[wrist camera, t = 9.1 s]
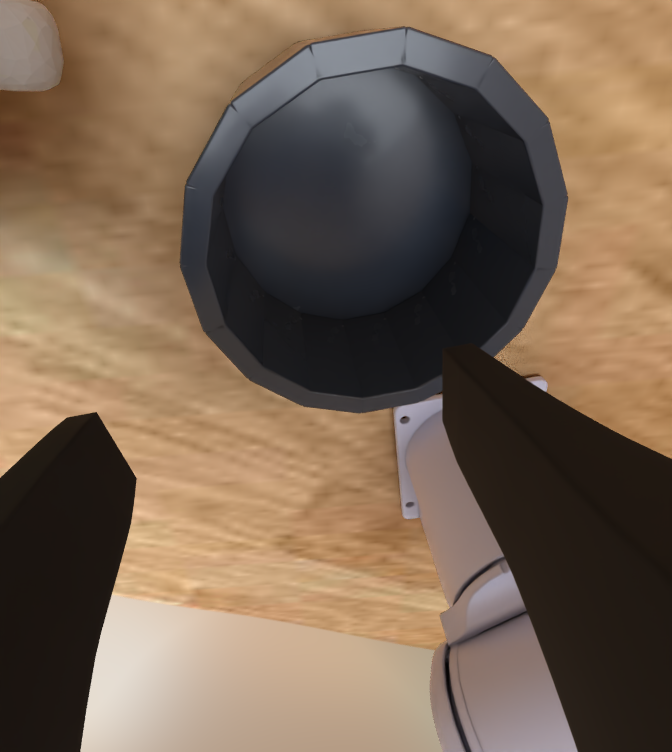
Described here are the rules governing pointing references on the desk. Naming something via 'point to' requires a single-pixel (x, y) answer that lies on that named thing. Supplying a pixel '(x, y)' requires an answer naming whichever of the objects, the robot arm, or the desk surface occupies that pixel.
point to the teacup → (28, 47)
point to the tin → (371, 217)
